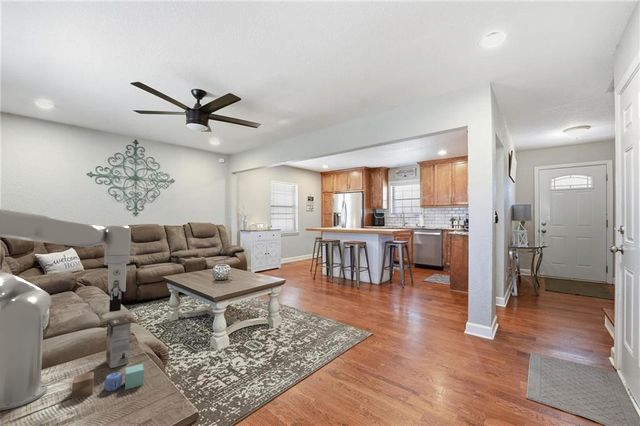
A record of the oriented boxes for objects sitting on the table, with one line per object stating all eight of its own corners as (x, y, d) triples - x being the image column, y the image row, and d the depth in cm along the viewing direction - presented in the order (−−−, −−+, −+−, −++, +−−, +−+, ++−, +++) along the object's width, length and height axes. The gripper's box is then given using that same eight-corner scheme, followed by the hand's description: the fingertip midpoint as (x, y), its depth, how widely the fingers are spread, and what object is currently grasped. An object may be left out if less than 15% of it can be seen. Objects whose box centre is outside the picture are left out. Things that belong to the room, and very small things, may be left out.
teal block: (125, 389, 92) (125, 374, 92) (124, 382, 96) (125, 367, 96) (143, 384, 95) (143, 369, 95) (142, 378, 99) (142, 363, 99)
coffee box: (105, 360, 112) (106, 319, 112) (124, 355, 116) (125, 316, 117) (109, 368, 105) (111, 325, 106) (130, 363, 110) (131, 321, 111)
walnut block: (71, 400, 87) (72, 383, 87) (73, 392, 91) (74, 376, 91) (92, 394, 89) (93, 378, 90) (93, 387, 94) (94, 371, 94)
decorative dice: (103, 392, 91) (104, 379, 91) (107, 385, 94) (108, 373, 94) (118, 389, 92) (119, 377, 92) (122, 383, 96) (122, 371, 96)
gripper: (130, 261, 97) (128, 312, 96) (129, 257, 111) (127, 301, 110) (103, 262, 92) (100, 315, 92) (105, 258, 106) (103, 303, 106)
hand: (115, 307), depth 101 cm, fingers open, 9 cm apart
